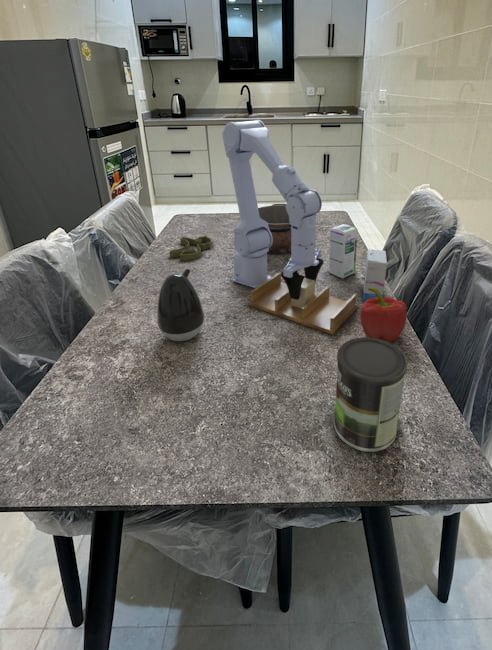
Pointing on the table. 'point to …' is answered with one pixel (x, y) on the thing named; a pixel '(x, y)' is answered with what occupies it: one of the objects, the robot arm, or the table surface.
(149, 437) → the table surface
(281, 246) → the cooking pot
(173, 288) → the black rounded egg shape
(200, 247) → the cookie cutter
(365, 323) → the vegetable
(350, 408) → the coffee can
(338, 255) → the syrup box
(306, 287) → the block
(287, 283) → the robot arm
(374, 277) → the ink box
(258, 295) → the dish rack
